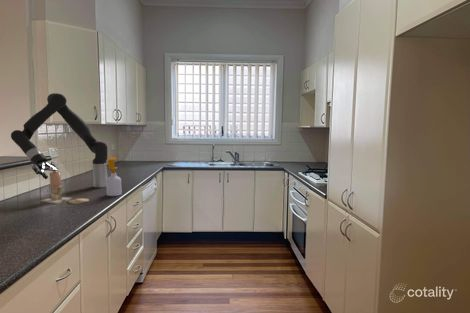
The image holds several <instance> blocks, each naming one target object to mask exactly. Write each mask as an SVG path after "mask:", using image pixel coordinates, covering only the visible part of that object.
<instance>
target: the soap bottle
mask: <svg viewBox="0 0 470 313" xmlns="http://www.w3.org/2000/svg"><path fill="white" fill-rule="evenodd" d="M117 158H118V157H116V156H111V157H109V158H108V159H107V169H110V170H111V172H110V176H108V178H107V180H106V187H105V188H106V196H108V197H117V196H120V195H121V196H122V194H123V193H122V192H123V191H122V178H121V177H120V176H118V175H117V172H116V169H118V167H117V166H116V167H115V161H116V160H117Z"/></svg>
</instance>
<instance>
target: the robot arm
mask: <svg viewBox="0 0 470 313" xmlns="http://www.w3.org/2000/svg"><path fill="white" fill-rule="evenodd" d="M46 100H47V104H46V105H45V106H44V107H43V108H41V110H39V111H37V112H36V113H35V114H33V115H32V116H30V118H28V120H27V121H25V123H23V130H19V129H15V130H13V131H12V132H11V134H10V138H11V140H12V141H13V143H15V144H16V145H17V146H18V148H20V150H22V152H23V153H24V154H25V156H26V157H27V159H28V160H29V161H30V162H31V164H32V166H31V169H32V170H33V172H34V173H35V174H36V175H40V176H41V177H43V179H45V180H47V179H48V178H49V176H48V174H47V173H46V172H45V171H49V172H53V171H58V170H59V169H60V167H58V166H57V164H55V163H54V162H53V161H51V162H48V158H47V157H46V156H45V154H43V153H42V151H41V150H40V149H39V148H37V146H36V145H35V144H34V143H33V142H32V141H31V139H32V138H33V136H34V134H35V132H36V131H38V129H39V128H40V127H41V126H42V125H43V124H44V123H45V122H46V121H47V120H48V119H49V118H50V117H51V116H53V115H54V114H56V112H57V113H58V114H59V115H60V116H61V118H62V119H63V120H64V121H65V123H66V124H67V125H68V126H69V127H70V128H71V130H73V132H74V133H75V134H76V135H77V136H78V137H79V138H80V139H81V140H82V141H83V142H84V143H85V145H86V146H87V148H88V149H89V150H90V151H91V153H93V154H94V158H93V159H92V175H93V176H92V177H93V178H92V180H93V182H92V183H93V188H106V180H107V178H108V177H109V175H108V170H107V169H108V164H107V162H108V151H109V150H108V145H107V143H106V142H104V141H98V140H97V139H96V138H95V137H94V135H92V133H91V130H90V128H89V125H88V124H87V122H85V121H84V119H83V118H82V117H81V116H80V115H79V114H77V113H76V112H74V111H73V110H72V109H71V108H70V107H69V106H68V105H67V98H66V96H64V95H63V94H62V93H57V92H55V93H50V94H49V95H48V96H47V98H46Z"/></svg>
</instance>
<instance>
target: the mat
mask: <svg viewBox="0 0 470 313" xmlns="http://www.w3.org/2000/svg"><path fill="white" fill-rule="evenodd" d="M88 202H90V198H73V199H71V200H68V204H72V205H80V204H85V203H88Z"/></svg>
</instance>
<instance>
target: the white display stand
mask: <svg viewBox="0 0 470 313" xmlns="http://www.w3.org/2000/svg"><path fill="white" fill-rule="evenodd" d="M62 188H63V187H62ZM62 188H57V189H50V197H48V198H45V199H42V200H39V203H43V204H55V205H58V204H62V203H65V202H67V201H70V200H73V199H74V198H73V196H72V197H71V196H70V197H69V196H63V193H62V192H63V189H62Z"/></svg>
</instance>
